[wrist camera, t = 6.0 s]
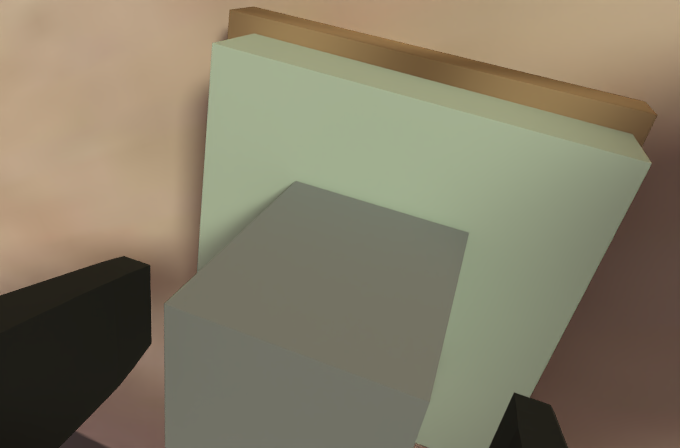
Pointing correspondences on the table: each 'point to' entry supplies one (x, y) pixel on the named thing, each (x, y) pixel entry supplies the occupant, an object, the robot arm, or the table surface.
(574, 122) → the grey-green slab
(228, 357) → the grey block
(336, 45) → the walnut slab
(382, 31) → the table surface
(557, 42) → the table surface
